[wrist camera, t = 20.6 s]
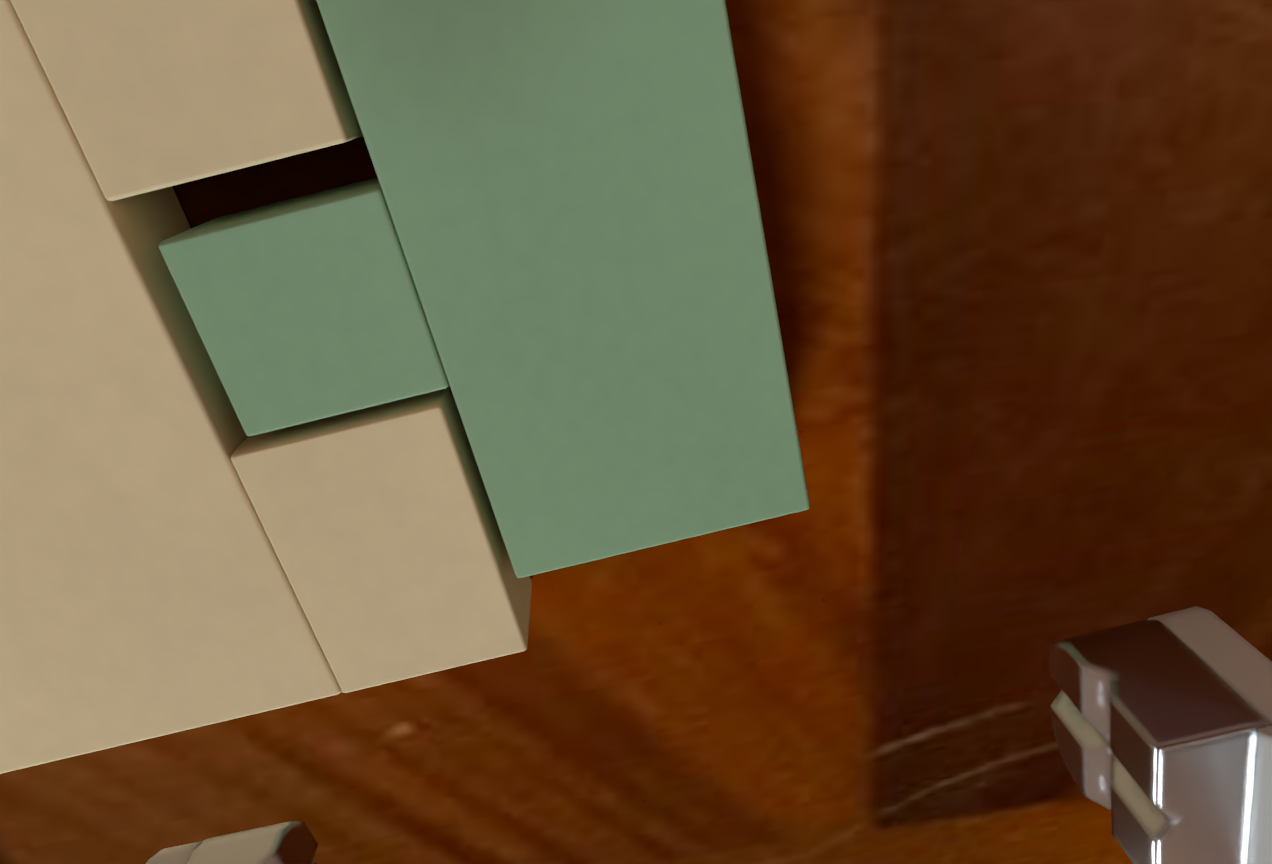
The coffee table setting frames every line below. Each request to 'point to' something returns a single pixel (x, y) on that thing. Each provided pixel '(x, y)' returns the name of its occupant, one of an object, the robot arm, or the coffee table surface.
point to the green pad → (529, 269)
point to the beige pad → (195, 411)
